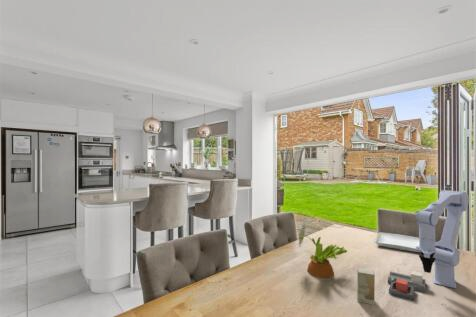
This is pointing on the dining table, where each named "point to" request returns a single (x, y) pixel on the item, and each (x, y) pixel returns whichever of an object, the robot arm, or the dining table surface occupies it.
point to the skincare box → (365, 285)
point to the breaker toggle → (416, 277)
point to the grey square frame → (400, 293)
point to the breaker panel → (417, 286)
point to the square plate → (398, 241)
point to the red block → (402, 285)
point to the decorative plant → (321, 257)
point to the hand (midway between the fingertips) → (427, 269)
